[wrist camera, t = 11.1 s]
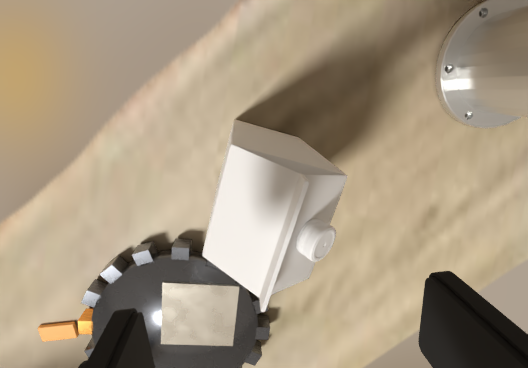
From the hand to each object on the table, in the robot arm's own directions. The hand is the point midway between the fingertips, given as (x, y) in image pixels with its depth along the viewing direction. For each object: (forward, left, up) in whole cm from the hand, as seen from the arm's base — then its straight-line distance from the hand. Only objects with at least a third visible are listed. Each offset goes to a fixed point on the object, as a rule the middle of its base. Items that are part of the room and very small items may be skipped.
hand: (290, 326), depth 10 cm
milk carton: (0, 0, -24) cm, 24 cm away
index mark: (+25, +19, -23) cm, 39 cm away
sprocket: (+11, +19, -23) cm, 32 cm away
